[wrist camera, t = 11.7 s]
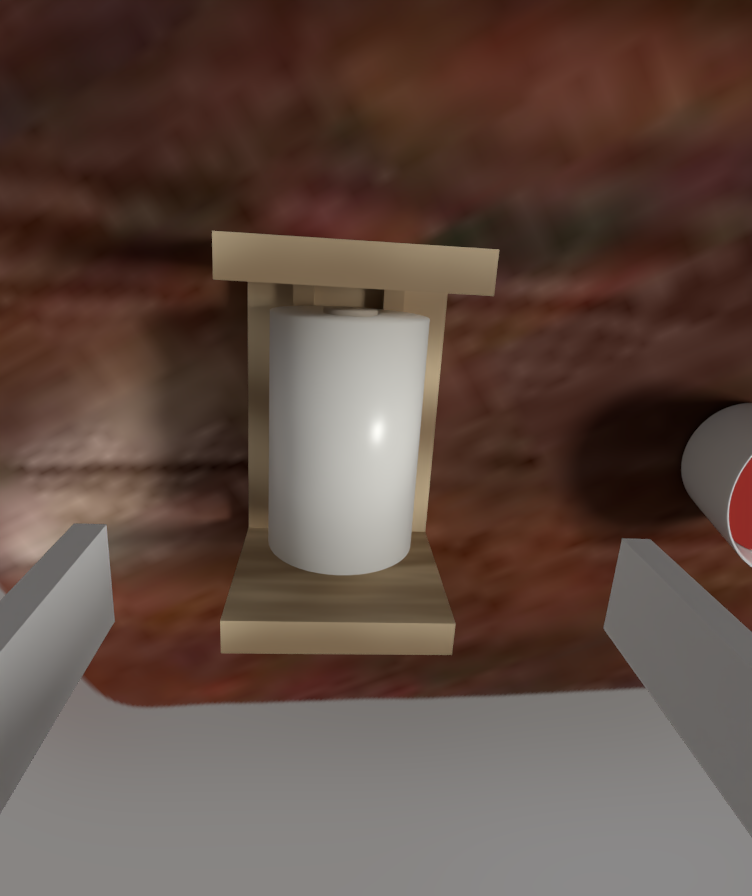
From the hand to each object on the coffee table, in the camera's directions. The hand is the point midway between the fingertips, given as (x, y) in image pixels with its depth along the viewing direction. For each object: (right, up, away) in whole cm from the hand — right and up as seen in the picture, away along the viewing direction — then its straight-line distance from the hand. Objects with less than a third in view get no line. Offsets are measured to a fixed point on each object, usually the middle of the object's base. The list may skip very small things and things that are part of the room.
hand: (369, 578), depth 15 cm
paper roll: (-1, +4, +13) cm, 13 cm away
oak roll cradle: (-2, +6, +18) cm, 19 cm away
